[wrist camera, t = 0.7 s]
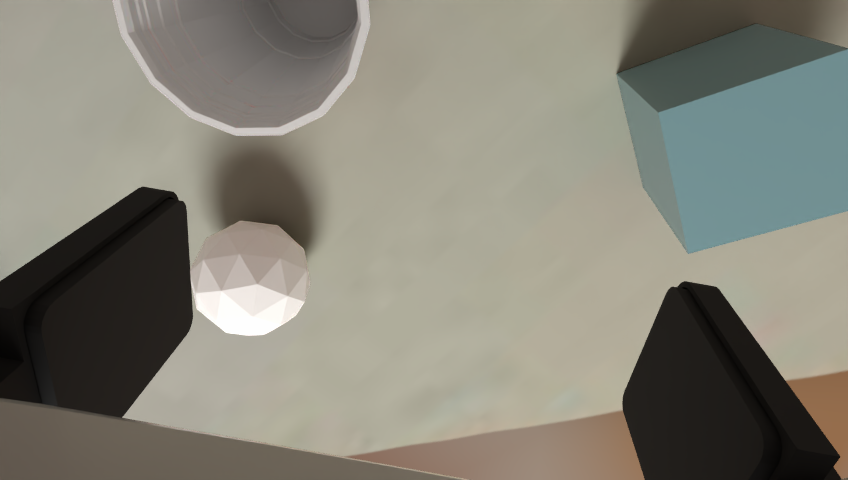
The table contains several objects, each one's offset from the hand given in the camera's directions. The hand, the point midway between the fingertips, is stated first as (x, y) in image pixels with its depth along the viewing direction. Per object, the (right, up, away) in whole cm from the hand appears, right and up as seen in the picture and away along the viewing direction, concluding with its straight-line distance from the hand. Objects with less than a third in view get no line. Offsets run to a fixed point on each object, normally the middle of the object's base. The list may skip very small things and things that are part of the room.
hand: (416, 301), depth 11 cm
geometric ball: (-11, 0, +30) cm, 32 cm away
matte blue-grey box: (+17, +9, +22) cm, 29 cm away
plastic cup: (-6, +16, +21) cm, 27 cm away
